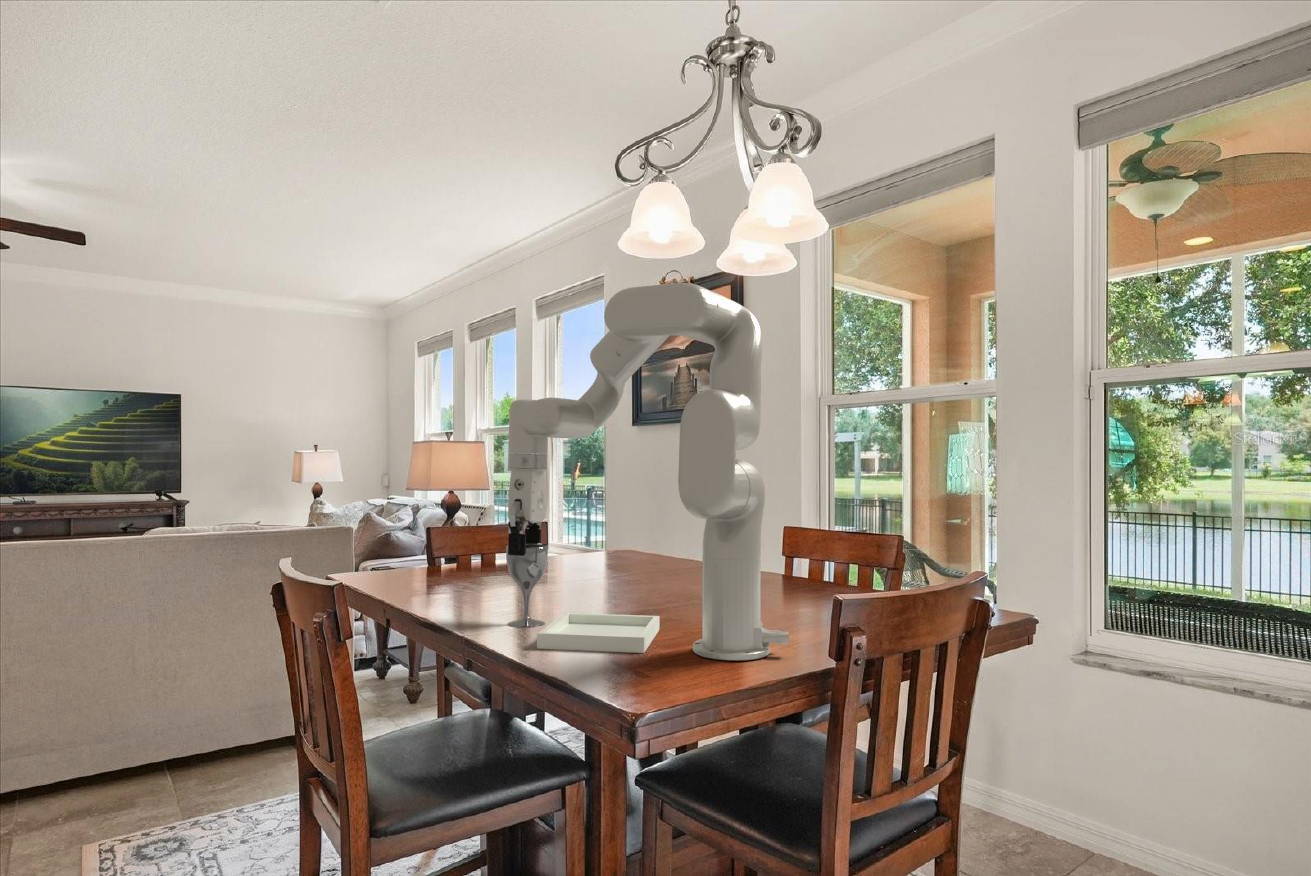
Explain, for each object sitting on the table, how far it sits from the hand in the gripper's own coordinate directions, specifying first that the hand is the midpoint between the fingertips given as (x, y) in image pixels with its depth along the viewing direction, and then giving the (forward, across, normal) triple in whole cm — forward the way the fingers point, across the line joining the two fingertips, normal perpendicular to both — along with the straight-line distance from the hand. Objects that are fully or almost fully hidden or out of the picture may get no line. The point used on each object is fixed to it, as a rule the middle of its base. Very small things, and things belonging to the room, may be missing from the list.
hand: (524, 552), depth 147 cm
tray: (+13, -10, -18) cm, 24 cm away
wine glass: (+14, 0, -1) cm, 14 cm away
